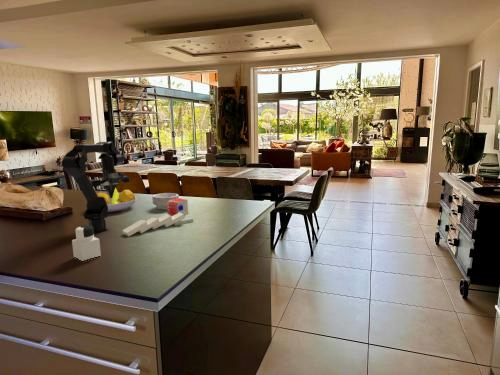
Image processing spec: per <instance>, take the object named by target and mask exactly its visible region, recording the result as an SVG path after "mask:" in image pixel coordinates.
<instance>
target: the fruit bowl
mask: <svg viewBox="0 0 500 375" xmlns="http://www.w3.org/2000/svg"><path fill="white" fill-rule="evenodd" d="M96 194H97V196H98V197H104V198H105V201H106V202H107V203H106V204H107V206H108V213H113V212H114V213H115V212H120V211H126V210H127V209H128V208H130V207H132V206H134V205H135V204H136V201H137V196H136V195H135V193H133V192H132V191H131V190H130V189H123V190H122V191H121V192H120V193H119V192H118V190H117V187H116V188H115V190H114V194H113V197H112V198H110V197H109V195H108V193H105V192H98V193H96Z"/></svg>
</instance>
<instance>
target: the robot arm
mask: <svg viewBox="0 0 500 375" xmlns="http://www.w3.org/2000/svg"><path fill="white" fill-rule="evenodd" d="M91 153H97V154H100V155H99V156H98V160H100V161H101V162H100V163H101V172H102V177H101V179H98V178H97V179H89V177H88V176H87V173H86V170H87V166H86V163H87V162H88V154H91ZM79 154H81V156H78V155H79ZM124 161H125V157H124V156H123V154H121V152H120V151H119V150H118V148H117V147H116V145H115V144H114V142H113V141H99V142H96V143H95V144H93V143H92V144H85V143H84V144H81V143H80V144H78V143H77V144H75V145H74V146H73V148H72V149H71V150H70V151H68V152H67V153H66V154H65V155H64V157H63V158H62V161H61V167H62V169H63V171H64V172H65V174H66V173H67V174H68V175H69V176H70V177H72V178H73V179H74V181H75V182H76V184H77V185H78V187H79V189H80V191H81V193H82V194H83V196H84V198H85V200H86V206H85V207H86V210H85V211H84V215H83V217H84V220H87V223H88V226H92V227H93V230H94V234H99V233H101V232H102V233H103V232H106V231H108V228H107V223H106V218H108V213H109V212H108V206H107V204H106V203H107V202H106V201H105V198H104V197H98V196H97V194H98V193H97V191H96V190H95V188H96V187H100V186H101V187H103V188H104V190H105V192H106V194H107V195H108V196H109V197H110V198H112V197H113V194H114V190H115V188H116V189H117V186H119V185H120V183H121V182H122V183H130V182H131V179H130V177H129V176H127V175H124V173H123V172H122V171H121V172H118V173H117V170H116V168H115V166H116V167H117V166H120V165H122V164H124Z"/></svg>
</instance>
